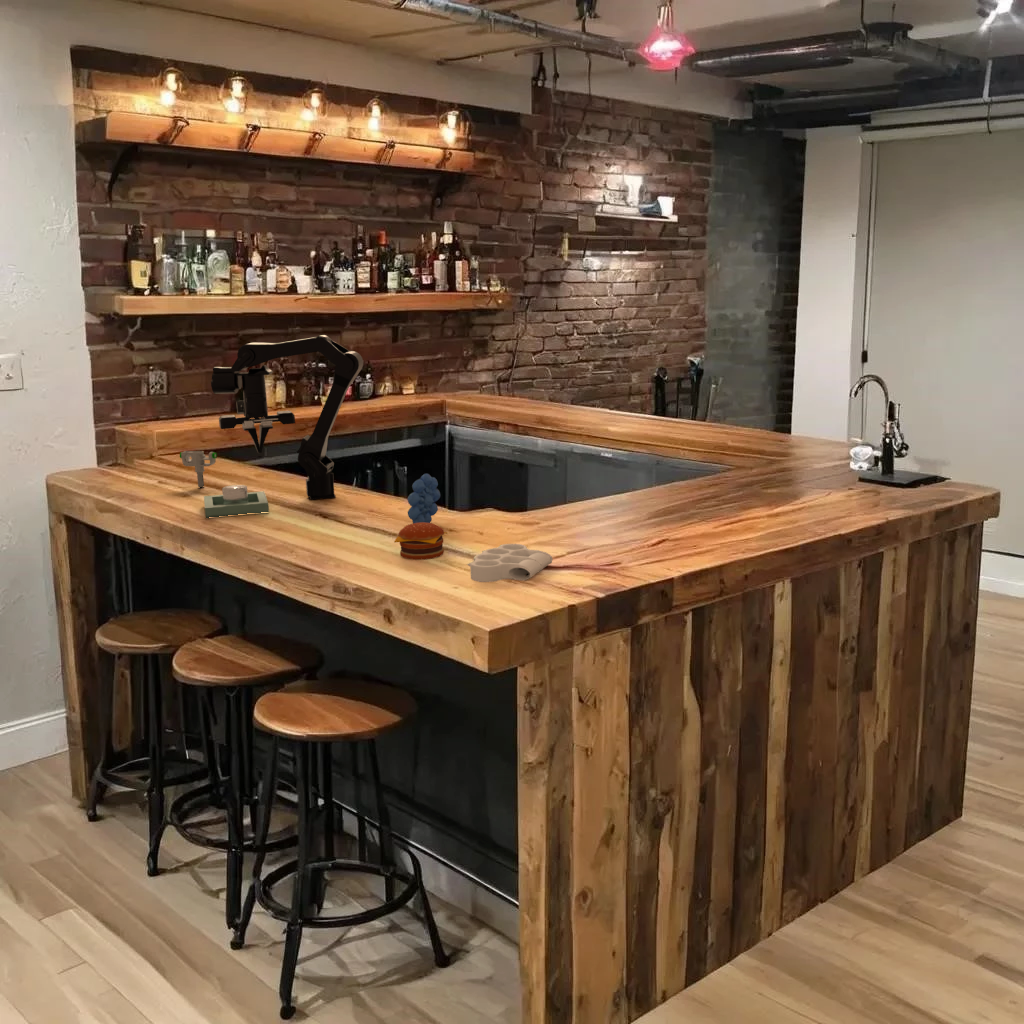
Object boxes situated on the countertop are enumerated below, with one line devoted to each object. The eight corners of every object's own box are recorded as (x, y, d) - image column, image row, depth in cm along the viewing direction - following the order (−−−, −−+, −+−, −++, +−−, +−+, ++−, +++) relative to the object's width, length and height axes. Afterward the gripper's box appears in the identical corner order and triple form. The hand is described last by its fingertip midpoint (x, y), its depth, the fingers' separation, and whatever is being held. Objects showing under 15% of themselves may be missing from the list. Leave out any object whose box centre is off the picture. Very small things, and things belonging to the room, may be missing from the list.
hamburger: (393, 560, 230) (392, 528, 229) (408, 548, 239) (406, 517, 238) (438, 561, 228) (436, 529, 227) (450, 549, 237) (449, 518, 236)
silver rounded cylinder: (248, 503, 285) (246, 484, 284) (249, 508, 279) (247, 488, 278) (223, 505, 283) (222, 486, 282) (224, 510, 278) (222, 490, 276)
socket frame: (264, 501, 290) (264, 491, 290) (269, 513, 276) (268, 502, 276) (204, 506, 286) (203, 496, 286) (205, 518, 272) (204, 508, 272)
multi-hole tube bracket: (524, 587, 210) (453, 581, 215) (558, 563, 226) (491, 557, 231) (523, 570, 209) (452, 564, 214) (558, 546, 225) (491, 541, 231)
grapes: (423, 519, 265) (421, 468, 263) (447, 521, 262) (445, 470, 259) (395, 529, 255) (392, 477, 253) (419, 532, 252) (417, 480, 250)
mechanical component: (216, 489, 308) (212, 452, 306) (181, 488, 310) (178, 452, 308) (220, 486, 311) (217, 450, 308) (186, 486, 313) (183, 450, 310)
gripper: (287, 387, 299) (292, 445, 302) (214, 392, 293) (220, 451, 296) (293, 391, 288) (297, 451, 292) (217, 396, 283) (223, 458, 286)
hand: (259, 452), depth 292 cm, fingers closed
